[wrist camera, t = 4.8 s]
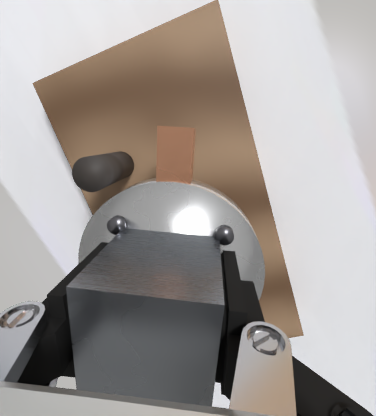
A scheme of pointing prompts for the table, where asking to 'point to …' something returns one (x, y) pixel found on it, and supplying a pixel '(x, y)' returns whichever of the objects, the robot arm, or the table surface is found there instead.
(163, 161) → the flange plate
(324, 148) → the table surface
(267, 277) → the base board
